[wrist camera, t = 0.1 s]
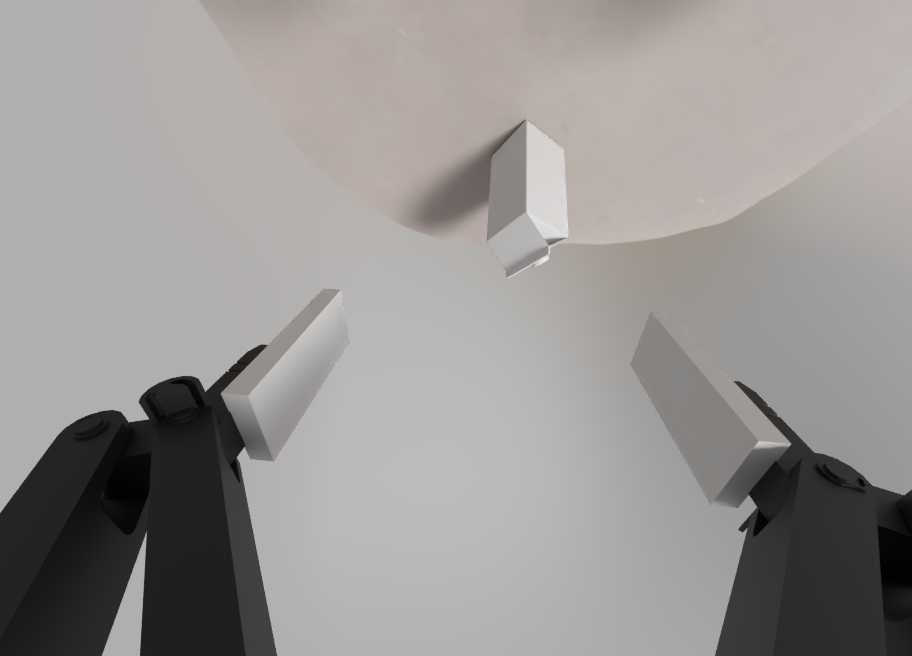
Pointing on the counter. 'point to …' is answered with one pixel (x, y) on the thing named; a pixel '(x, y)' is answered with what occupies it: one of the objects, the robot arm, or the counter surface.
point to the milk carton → (526, 199)
